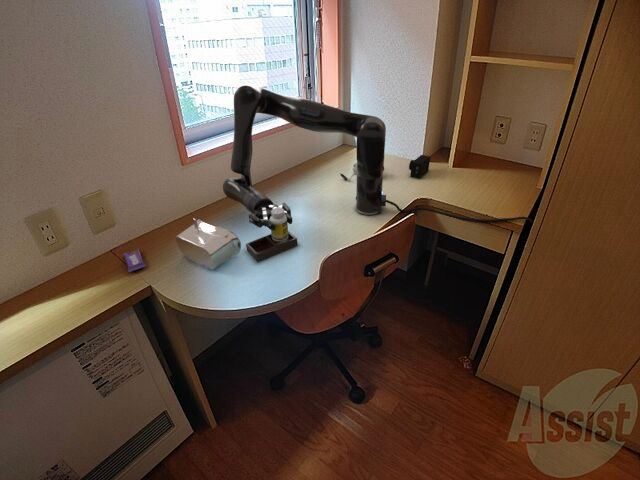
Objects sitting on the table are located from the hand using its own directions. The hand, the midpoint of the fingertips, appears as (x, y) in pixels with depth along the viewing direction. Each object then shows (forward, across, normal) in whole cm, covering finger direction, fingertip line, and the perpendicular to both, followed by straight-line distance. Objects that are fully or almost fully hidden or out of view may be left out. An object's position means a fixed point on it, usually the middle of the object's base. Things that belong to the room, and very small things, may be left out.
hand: (282, 224), depth 110 cm
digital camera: (-13, +76, +9) cm, 78 cm away
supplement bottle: (-3, 0, +6) cm, 7 cm away
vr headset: (-11, -20, +9) cm, 25 cm away
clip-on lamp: (-27, +55, +9) cm, 62 cm away
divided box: (-2, -3, +9) cm, 10 cm away
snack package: (-23, -41, +10) cm, 48 cm away
